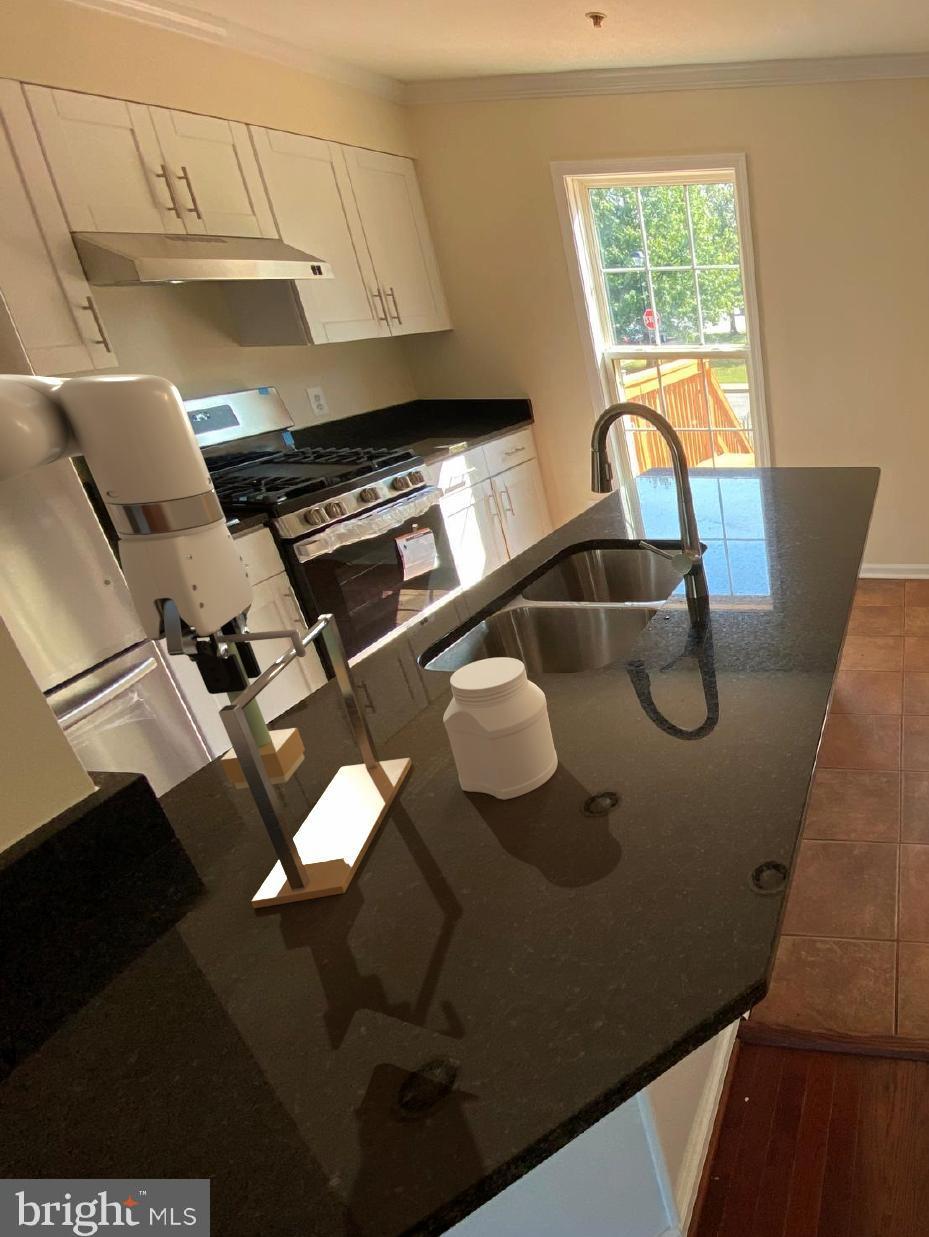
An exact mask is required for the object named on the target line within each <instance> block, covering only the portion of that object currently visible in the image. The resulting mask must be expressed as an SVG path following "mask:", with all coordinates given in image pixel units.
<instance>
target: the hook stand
mask: <svg viewBox="0 0 929 1237" xmlns="http://www.w3.org/2000/svg"><path fill="white" fill-rule="evenodd" d="M223 636H224V639H225V641H226V644H227V647H228V649H229V654H236V656H237V659H238V662H239V664H240V667H241V669H242V672H243V675H244V677H245V680H246V682H247V685H248V687H249V686H250V685H251V682H250V680H249V679H248V677H247V674H246V672H245V669H244V666H243V664H242V661H241V659H240V656H239V653H238V651H237V648H236V646H235V643H234V642H244V641H245V642H251V641H253V642H254V641H264V640H275V639H285V638H286V639H287V638H290V640H291V643H292V646H294V649H295V652H296V655H297V656H296V657H298V658H304V657H306V655H307V651H306V649H305V648H306V647H305V648H304V645H303V642H302V639H301V637H302V636H301V633H300V631H299V630H298V629H296V628H292V629H291V628H290V629H279V630H269V631H268V630H267V631H258V632H257V631H256V632H250V633H245V634H234V635H223ZM206 641H207V642H209V643H211V641H210V639H208V640H206ZM248 687H247V688H248ZM247 688H246V689H247ZM246 689H245V690H246ZM245 690H244V691H245ZM244 691H238V692H228V693H226V695H227V698H228V700H229V703H230V704H232V703H233V702H234V701H235V700H236V699H237V698H238V697H239V696H240V695H241V694H242V693H243V692H244ZM243 713H244V715H245V718H246V720H247V723H248V725H249V728H250V730H251V733H252V735H253V738H254V741H255V743H256V746H257V748H258V751H259V753H260V756H261V758H262V761H263V763H264V766H265V768H266V771H267V773H268V776H269V779H270V781H271V784H272V785H278V784H285V783H287V782H288V781H289V780H290V779H291V777H292V776H293V775H294V773H295V772H296V770H297V769H298V768H299V767H300V765H301V764H302V763H303V761H304V760H305V759H306V758H305V755H304V752H305V751H306V748H305V746H304V743H303V740H302V738H301V735H300V732H299V729H298V727H292V728H283V729H276V730H275V729H274V730H269V729H268V726H267V723H266V720H265V718H264V716H263V713H262V711H261V708H260V706H259V703H258V700H257V698H256V697H255V698H254V699H253V700H252V701H251V702H250V703H249V704H248V705H247V706H246V707H245V708H244V709H243ZM220 763H221V765H222V768H223V770H224V772H225V775H226V777H227V780H228V782H229V784H233V785H234V787H235V789H236V790H241V789H247V788H249V785H248V783H247V781H246V778H245V776H244V773H243V771H242V768H241V766H240V764H239V761H238V759H237V756H236V754H235V751H234V749H233V747H231V748H230V749H229V750H228V751H227V752H226V753H225V754H224V756H222V758H220ZM249 789H250V788H249Z"/></svg>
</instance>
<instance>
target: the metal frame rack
mask: <svg viewBox="0 0 929 1237" xmlns="http://www.w3.org/2000/svg"><path fill="white" fill-rule="evenodd" d="M320 634H322V637H323V640H324V643H325V646H326V649H327V652H328V655H329V658H330V662H331V664H332V668H333V670H334V673H335V674H334V675H335V677H336V680H337V683H338V686H339V689H340V692H341V696H342V698H343V701H344V704H345V708H346V710H347V714H348V716H349V720H350V722H351V725H352V729H353V732H354V735H355V738H356V741H357V744H358V748H359V750H360V753H361V757H362V760H363V762H364V763H359V764H351V765H344V766H340V768H339V769H338V771H337V772H336V774H335V775H334V777H333V778H332V780H331V781H330V783H329V784H328V786H327V787H326V788H325V790H324V791H323V793H322V795H321V796H320V798H319V799H318V800H317V802H316V804H315V805H314V807H313V808H312V809H311V811H310V812H309V814H308V816H307V817H306V819H305V820H304V822H303V823H302V824H301V826H300V828H299V829H298V830H297V832H296V834H295V835H294V836H293V834H292V832H291V829H290V826H289V824H288V822H287V819H286V817H285V814H284V812H283V809H282V806H281V804H280V801H279V798H278V797H277V794H276V792H275V789H274V785H273V784H271V781H270V779H269V776H268V773H267V771H266V768H265V766H264V763H263V761H262V758H261V756H260V753H259V751H258V748H257V746H256V743H255V741H254V738H253V735H252V733H251V730H250V728H249V725H248V723H247V720H246V718H245V715H244V713H243V709H244V708H245V707H246V706H247V705H248V704H249V703H250V702H251V701H252V700H253V699H254V698H256V697H257V696H258V695H259V694H260V693H261V692H262V691H264V689H265V688H266V687H267V686H268V685H269V684H270V683H271V682H272V681H273V680H274V679H275V678H276V677H277V676H279V675H280V674H281V672H283V670H284V669H285V668H287V667H288V665H290V663H291V662H292V661H293V660H294V659H295V658H296V657H298V656H297V655H296V652H295V649H294V646H293V645H291V646H290V647H289V648H288V649H287V650H286V651H285V652H284V653H283V654H282V655H281V656H280V657H279V658H277V659H276V661H274V662H273V663H272V664H271V665H270V667H268V668H267V669H266V670H265V671H264V672H263V673H261V675H260V676H259V677H257V678H256V679H255V680H254V681H253V682H252V683H251V684H250V686H249V687H248V688H247V689H246V690H245V691H244V692H243V693H242V694H241V695H240V696H239V697H238V698H237V699H236V700H235V701H234V702H233V703H232V704H231V703H230V704H227V705H224V706H223V707H222V708H220V710H219V711H218V715H219V718H220V720H221V722H222V724H223V727H224V729H225V731H226V734H227V737H228V739H229V741H230V744H231V746H232V747H233V749H234V751H235V754H236V756H237V759H238V761H239V764H240V766H241V768H242V771H243V773H244V776H245V778H246V781H247V783H248V785H249V790H250V792H251V795H252V797H253V800H254V803H255V805H256V808H257V810H258V812H259V815H260V817H261V819H262V821H263V824H264V826H265V829H266V831H267V834H268V837H269V838H270V842H271V844H272V846H273V848H274V851H275V853H276V856H277V858H278V860H277V861H276V863H275V865H274V866H273V868H272V869H271V871H270V873H269V874H268V875H267V877H266V878H265V880H264V882H263V883H262V884H261V886H260V888H258V890H257V891H256V893H255V895H254V896H253V897H252V899H251V901H250V903H251V905H252V908H253V909H260V908H261V909H262V908H266V907H272V906H277V905H278V906H279V905H283V904H284V905H285V904H289V903H295V902H301V901H306V900H312V899H318V898H324V897H329V896H335V895H341V894H345V893H346V891H347V889H348V887H349V886H350V883H351V882H352V880H353V878H354V876H355V873H356V872H357V869H358V868H359V866H360V864H361V862H362V861H363V858H364V856H365V854H366V853H367V851H368V849H369V847H370V845H371V843H372V841H373V839H374V838H375V835H376V833H377V831H378V830H379V827H380V826H381V824H382V822H383V820H384V818H385V816H386V815H387V812H388V811H389V808H390V807H391V805H392V803H393V801H394V800H395V797H396V795H397V794H398V791H399V790H400V788H401V785H402V784H403V782H404V780H405V777H406V776H407V774H408V772H409V770H410V769H411V766H412V758H411V757H404V758H397V759H389V760H383V761H382V760H381V761H380V759H379V756H378V752H377V750H376V746H375V743H374V740H373V737H372V733H371V730H370V727H369V723H368V720H367V718H366V714H365V712H364V711H365V710H364V708H363V705H362V702H361V698H360V696H359V692H358V688H357V685H356V682H355V679H354V677H353V673H352V669H351V667H350V663H349V660H348V657H347V654H346V650H345V647H344V643H343V641H342V637H341V635H340V631H339V628H338V625H337V622H336V619H335V616H334V613H326V614H320V615H319V617H318V618H317V621H316V623H315V624H314V625H312V626H311V627H310V628H309V629H308V630H307V631H306V632H305V633H304V634H303V635H302V636H300V637H301V639H302V642H303V645H304V648H306V647H308V646H309V644H311V643H312V642H313V641H314V639H316V638H317V637H318V636H319V635H320ZM232 747H231V748H232Z"/></svg>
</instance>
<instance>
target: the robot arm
mask: <svg viewBox="0 0 929 1237" xmlns="http://www.w3.org/2000/svg"><path fill="white" fill-rule="evenodd" d="M193 428H194V427H193V425H192V423H191V420H190V418H189V415H188V411H187V409H186V407H185V404H184V401H183V399H182V396H181V394H180V391H179V389H178V388H177V387H176V385H175V384H174V383H173V382H172V381H170V380H169V379H167V378H165V377H163V376H160V375H154V374H144V373H126V374H125V373H122V374H120V373H119V374H101V375H100V374H99V375H86V376H80V377H55V376H54V377H53V376H42V375H41V376H40V375H27V374H10V373H9V374H8V373H3V374H2V373H0V482H5V481H6V482H7V481H11V480H14V479H16V478H17V479H18V478H19V477H22V476H25V475H26V474H29V473H31V472H33V471H35V470H37V469H39V468H41V467H44V466H47V465H51V464H53V463H57V462H59V461H62V460H66V459H68V458H74V457H80V456H83V457H84V460H85V462H86V465H87V467H88V469H89V472H90V474H91V476H92V479H93V481H94V483H95V485H96V488H97V489H98V492H99V494H100V497H101V499H102V502H103V503H104V505H105V508H106V510H107V512H108V515H109V517H110V520H111V522H112V524H113V526H114V529H115V531H116V533H117V536H118V538H119V540H118V541H117V543H118V552H119V554H118V555H119V558H120V563H121V568H122V572H123V576H124V579H125V580H124V581H125V583H126V586H127V590H128V592H129V595H130V599H131V601H132V604H133V606H134V610H135V612H136V615H137V617H138V620H139V623H140V625H141V628H142V630H143V632H144V634H145V635H146V637H147V638H148V639H149V640H151V641H155V642H156V641H162V640H164V639H165V641H166V642H165V643H166V651H167V654H168V655H169V656H171V657H174V656H184V655H185V656H187V657H188V659H189V661H191V662H192V663H195V665H196V667H197V669H198V672H199V674H200V676H201V679H202V681H203V684H204V686H205V688H206V691H207V693H208V694H210V695H218V694H227V693H228V692H238V691H244V690H245V689H246V688H247V687H248V685H247V682H246V680H245V677H244V675H243V672H242V669H241V667H240V664H239V662H238V659H237V656H236V654H229V649H228V647H227V644H226V641H225V639H224V636H223V635H234V634H245V633H251V632H250V630H249V626H248V624H247V620H248V613H249V611H250V610H251V607H252V603H253V602H254V600H255V591H254V588H253V584H252V581H251V578H250V575H249V573H248V570H247V567H246V565H245V563H244V560H243V558H242V555H241V553H240V550H239V548H238V547H237V546H238V545H237V544H236V542H235V540H234V538H233V536H232V534H231V532H230V531H229V529H228V527H227V525H226V523H227V518H226V516H225V514H224V511H223V509H222V508H223V507H222V506H221V503H220V500H219V497H218V494H217V492H216V489H215V486H214V484H213V480H212V478H211V475H210V472H209V470H208V467H207V464H206V462H205V459H204V456H203V453H202V451H201V448H200V445H199V442H198V440H197V437H196V434H195V432H194V429H193ZM205 638H207V639H208V640H210V641H211V643H209V642H207V641H208V640H204V639H205ZM198 639H203V640H198ZM234 643H235V646H236V648H237V651H238V653H239V656H240V659H241V661H242V664H243V666H244V669H245V672H246V674H247V677H248V679H258V678H259V677H260V676H261V675H262V670H261V668H260V665H259V662H258V660H257V657H256V655H255V652H254V649H253V647H252V644H251V641H244V642H234Z"/></svg>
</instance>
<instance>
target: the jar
mask: <svg viewBox="0 0 929 1237" xmlns="http://www.w3.org/2000/svg"><path fill="white" fill-rule="evenodd" d="M526 670H527V669H526V667H525V663H523V661H521V660H520V659H517V658H513V657H507V656H506V657H503V656H502V657H501V656H500V657H490V658H484V659H480V660H476V661H473V662H470V663H468V664H466V665H463V666H461V667H460V668H458V669H457V670H456V671H455V672H453V674H452V675H451V676H450V678H449V683H450V689H451V692H452V695H453V696H452V698H451V700H450V702H449V704H448V706H447V708H446V709H445V711H444V714H443V717H442V720H443V724H444V729H445V731H446V733H447V736H448V740H449V744H450V749H451V751H452V756H453V759H454V763H455V766H456V771H457V774H458V783H459V785H460V788H461V790H462V791H464V792H468V793H469V792H470V793H473V792H474V793H483V794H488V795H490V796H493V797H495V798H496V799H499V800H502V801H506V800H511V799H515V798H517V797H521V796H523V795H525V794H529V793H530V792H532V791H534V790H536V789H538V788H539V787H541V786H543V785H545V783H547V781H549V780H550V779H551V778H552V776H553V775H554V774H555V772H556V770H557V768H558V762H559V760H558V756H557V751H556V749H555V745H554V739H553V734H552V729H551V724H550V719H549V712H548V708H547V706H548V704H547V699H546V695H545V693H544V691H543V690H542V689H541V688H540V687H538V686H537V684H535V683H534V682H532V681H531V680H529V679H528V677H527V671H526Z"/></svg>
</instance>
